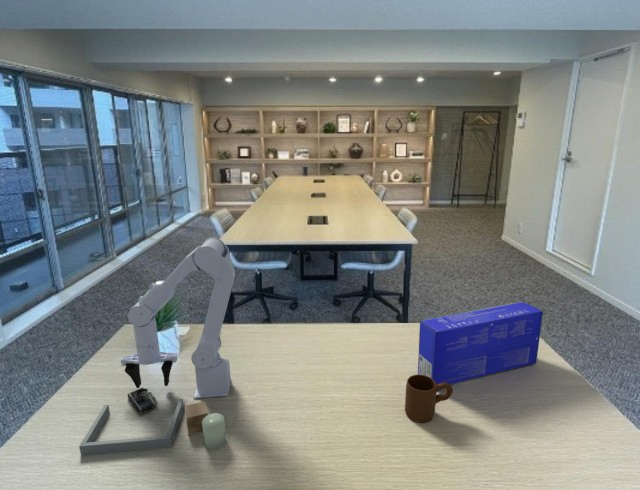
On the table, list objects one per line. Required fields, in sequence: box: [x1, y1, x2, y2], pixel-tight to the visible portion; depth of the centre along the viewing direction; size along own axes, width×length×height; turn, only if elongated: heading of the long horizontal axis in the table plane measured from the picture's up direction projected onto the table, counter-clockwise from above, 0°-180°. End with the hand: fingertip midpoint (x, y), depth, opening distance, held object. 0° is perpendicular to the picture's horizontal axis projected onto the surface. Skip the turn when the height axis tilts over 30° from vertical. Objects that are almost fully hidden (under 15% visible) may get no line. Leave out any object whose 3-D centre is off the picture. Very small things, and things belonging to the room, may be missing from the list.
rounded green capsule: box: [202, 413, 227, 451], centre depth 95 cm, size 5×5×6 cm
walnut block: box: [184, 400, 209, 436], centre depth 100 cm, size 5×5×5 cm
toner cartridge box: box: [417, 301, 544, 386], centre depth 122 cm, size 39×8×18 cm, turn 109°
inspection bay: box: [78, 398, 185, 456], centre depth 99 cm, size 20×14×2 cm
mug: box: [404, 374, 454, 424], centre depth 103 cm, size 12×8×9 cm, turn 91°
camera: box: [127, 386, 159, 416], centre depth 109 cm, size 5×10×4 cm, turn 41°
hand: (153, 385), depth 114 cm, fingers open, 7 cm apart
